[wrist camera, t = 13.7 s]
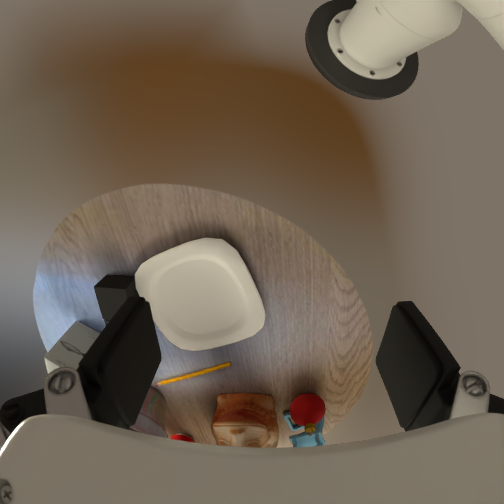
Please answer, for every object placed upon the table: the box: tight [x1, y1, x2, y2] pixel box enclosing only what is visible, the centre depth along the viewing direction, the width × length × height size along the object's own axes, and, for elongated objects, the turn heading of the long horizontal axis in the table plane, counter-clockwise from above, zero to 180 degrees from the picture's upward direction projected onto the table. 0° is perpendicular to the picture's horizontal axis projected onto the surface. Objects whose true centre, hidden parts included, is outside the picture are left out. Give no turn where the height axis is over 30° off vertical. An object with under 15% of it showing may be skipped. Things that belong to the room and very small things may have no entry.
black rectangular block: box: [94, 275, 140, 320], centre depth 40 cm, size 8×6×4 cm
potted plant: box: [129, 387, 168, 438], centre depth 40 cm, size 18×20×25 cm
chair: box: [284, 412, 325, 447], centre depth 47 cm, size 8×8×12 cm
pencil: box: [155, 362, 231, 386], centre depth 48 cm, size 1×18×1 cm, turn 118°
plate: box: [135, 237, 266, 351], centre depth 41 cm, size 18×18×2 cm
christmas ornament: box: [290, 393, 325, 436], centre depth 45 cm, size 7×7×10 cm
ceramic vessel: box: [211, 393, 279, 448], centre depth 45 cm, size 14×26×15 cm, turn 2°
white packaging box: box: [44, 321, 100, 374], centre depth 41 cm, size 7×7×13 cm
